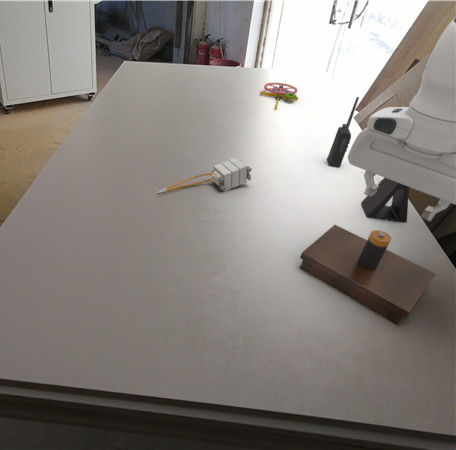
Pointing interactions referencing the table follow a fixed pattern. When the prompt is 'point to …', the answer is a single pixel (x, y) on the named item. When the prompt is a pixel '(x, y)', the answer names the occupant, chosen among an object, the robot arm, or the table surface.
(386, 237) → the battery
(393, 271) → the block
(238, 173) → the electrical component
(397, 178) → the robot arm
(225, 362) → the table surface
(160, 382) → the table surface
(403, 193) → the phone stand
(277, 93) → the mechanical gear assembly
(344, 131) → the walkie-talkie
